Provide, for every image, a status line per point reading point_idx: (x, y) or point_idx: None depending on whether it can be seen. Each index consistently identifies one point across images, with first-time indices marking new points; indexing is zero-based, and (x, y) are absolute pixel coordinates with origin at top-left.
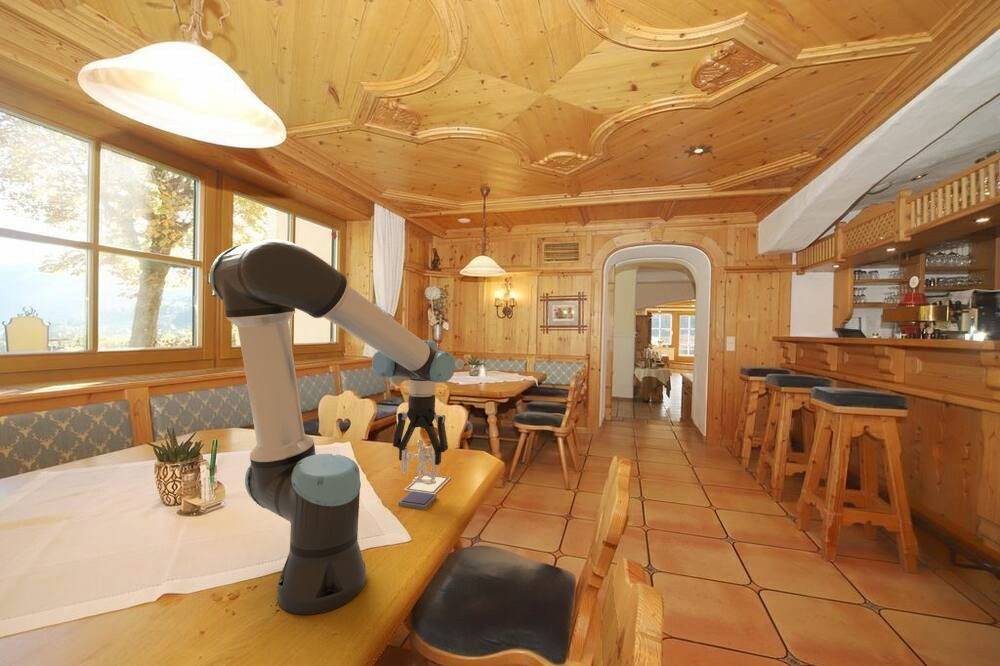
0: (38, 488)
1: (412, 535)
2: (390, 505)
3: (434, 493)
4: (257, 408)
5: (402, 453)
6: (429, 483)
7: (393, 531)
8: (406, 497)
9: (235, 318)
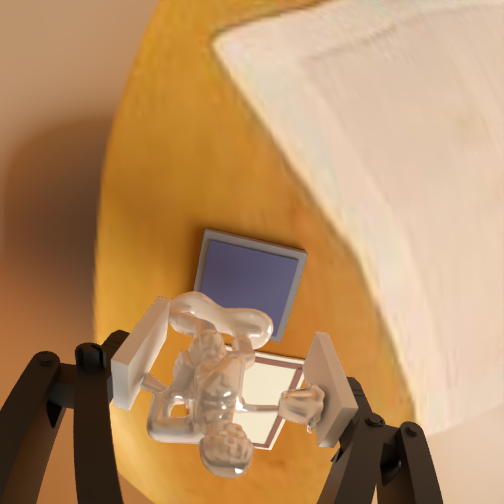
0: None
1: (213, 61)
2: (333, 252)
3: None
4: None
5: (349, 395)
6: (188, 293)
7: (276, 77)
8: (286, 287)
9: None
